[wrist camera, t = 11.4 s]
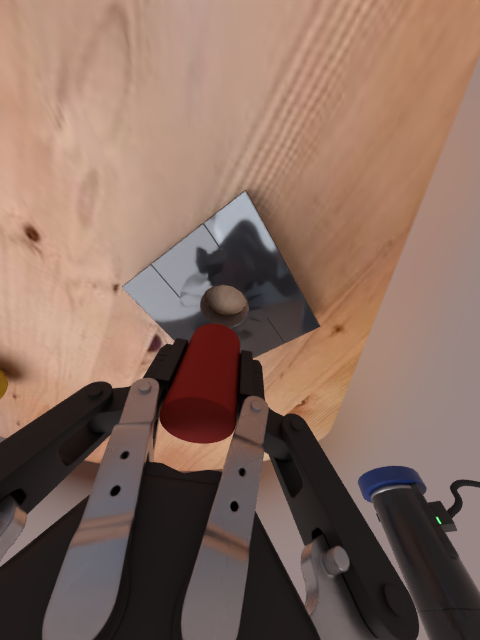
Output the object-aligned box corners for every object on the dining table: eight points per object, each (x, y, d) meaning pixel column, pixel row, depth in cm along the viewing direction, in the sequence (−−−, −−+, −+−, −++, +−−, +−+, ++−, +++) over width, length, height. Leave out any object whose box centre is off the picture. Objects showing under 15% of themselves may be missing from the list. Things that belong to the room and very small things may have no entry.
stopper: (221, 314, 13) (203, 385, 8) (250, 350, 15) (250, 431, 10) (180, 337, 14) (142, 414, 9) (211, 369, 16) (193, 450, 11)
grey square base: (246, 191, 17) (245, 189, 15) (313, 314, 23) (320, 326, 20) (134, 278, 21) (121, 287, 19) (214, 364, 27) (211, 378, 25)
